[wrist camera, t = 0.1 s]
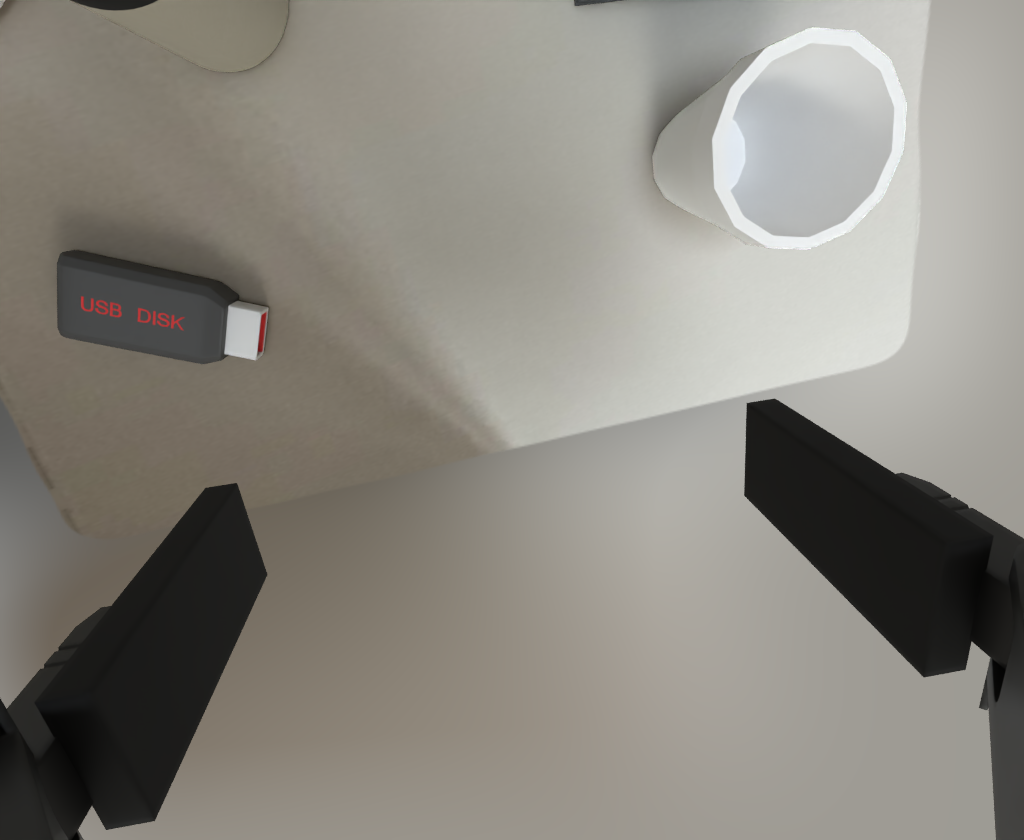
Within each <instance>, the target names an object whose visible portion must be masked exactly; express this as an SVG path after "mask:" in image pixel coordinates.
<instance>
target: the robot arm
mask: <svg viewBox="0 0 1024 840" xmlns="http://www.w3.org/2000/svg"><path fill="white" fill-rule="evenodd" d="M744 495H745V497H747V499H748V500H749V501H750V502H751V503H752V504H753V505H754V506H755V507H756V508H758V510H759V511H760V512H761V513H762V514H763V515H764V516H765V517H766V518H767V519H768V520H769V521H770V522H771V523H772V524H773V525H774V526H775V527H776V528H777V529H778V530H779V531H780V532H781V533H782V534H783V535H784V536H785V537H786V538H787V539H788V540H789V541H790V542H791V543H792V544H793V545H794V546H795V547H796V548H797V549H798V550H799V551H800V552H801V553H802V554H803V555H804V556H805V557H806V558H807V559H808V560H809V561H810V562H811V564H812V565H814V567H815V568H816V569H817V570H818V571H819V572H820V573H821V574H822V575H823V576H825V578H826V579H827V580H828V581H829V582H830V583H831V584H832V585H833V586H834V587H835V588H836V589H837V590H838V591H839V592H840V593H841V594H842V595H843V596H844V597H845V598H846V599H847V600H848V601H849V602H850V603H851V604H852V605H853V606H854V607H855V608H856V609H857V610H858V611H859V612H860V613H861V614H862V615H863V616H864V617H865V618H866V619H867V620H868V621H869V622H870V623H871V624H872V625H873V626H874V627H875V628H876V629H877V630H878V631H879V632H880V633H881V634H882V635H883V636H884V637H885V638H886V639H887V640H888V641H889V642H890V644H892V645H893V646H894V648H896V650H897V651H898V652H899V653H900V654H901V655H902V656H903V657H904V658H905V659H906V660H907V661H908V662H909V663H910V664H912V666H913V667H914V668H915V669H916V670H917V671H918V672H919V673H920V674H921V675H922V676H923V677H928V676H934V675H939V674H945V673H950V672H955V671H960V670H965V669H966V665H967V660H968V655H969V650H970V646H971V641H972V642H973V643H974V644H976V645H977V646H978V647H979V648H980V649H981V650H983V651H984V652H985V653H986V654H987V655H988V656H990V657H991V658H990V662H989V667H988V671H987V676H986V680H985V684H984V689H983V693H982V697H981V702H980V706H979V708H981V709H984V710H987V709H988V707H989V722H990V741H991V758H992V776H993V793H994V811H995V829H996V840H1024V539H1023V538H1022V537H1020V536H1018V535H1017V534H1015V533H1013V532H1012V531H1010V530H1008V529H1007V528H1005V527H1003V526H1002V525H1000V524H998V523H997V522H995V521H993V520H992V519H990V518H988V517H987V516H985V515H983V514H982V513H980V512H978V511H977V510H975V509H973V508H969V507H968V505H967V504H965V503H963V502H962V501H960V500H958V499H957V498H955V497H954V498H951V495H950V494H948V493H947V492H945V491H943V490H942V489H940V488H938V487H937V486H935V485H933V484H932V483H930V482H927V481H925V480H922V479H919V478H916V477H913V476H910V475H907V474H904V473H898V474H894V473H893V472H891V471H890V470H888V469H886V468H885V467H883V466H881V465H880V464H879V463H877V462H875V461H874V460H872V459H871V458H869V457H867V456H866V455H864V454H863V453H861V452H859V451H858V450H856V449H855V448H853V447H851V446H850V445H848V444H846V443H845V442H843V441H842V440H840V439H839V438H837V437H835V436H834V435H832V434H831V433H829V432H827V431H826V430H824V429H823V428H821V427H819V426H818V425H816V424H815V423H813V422H812V421H810V420H808V419H807V418H805V417H804V416H802V415H800V414H799V413H797V412H796V411H794V410H792V409H791V408H789V407H788V406H786V405H784V404H783V403H781V402H780V401H778V400H776V399H770V400H763V401H758V402H751V403H747V418H746V455H745V492H744ZM266 576H267V572H266V569H265V566H264V563H263V560H262V557H261V554H260V551H259V548H258V545H257V542H256V539H255V536H254V533H253V530H252V527H251V524H250V521H249V518H248V515H247V512H246V509H245V506H244V503H243V500H242V497H241V494H240V491H239V488H238V485H237V483H234V484H228V485H221V486H215V487H209V488H205V489H204V491H203V492H202V493H201V494H200V496H199V497H198V498H197V499H196V501H195V502H194V503H193V504H192V506H191V507H190V508H189V509H188V511H187V512H186V513H185V514H184V516H183V517H182V518H181V519H180V521H179V522H178V523H177V524H176V526H175V527H174V528H173V529H172V531H171V532H170V533H169V535H168V536H167V537H166V538H165V539H164V541H163V542H162V543H161V544H160V546H159V547H158V548H157V549H156V551H155V552H154V553H153V554H152V556H151V557H150V558H149V560H148V561H147V562H146V563H145V564H144V566H143V567H142V568H141V569H140V571H139V572H138V573H137V575H136V576H135V577H134V578H133V580H132V581H131V582H130V583H129V584H128V586H127V587H126V588H125V589H124V591H123V592H122V593H121V594H120V596H119V597H118V598H117V600H116V601H115V602H114V603H113V605H112V606H108V607H102V608H100V609H99V610H97V611H96V612H95V613H94V614H92V615H91V616H90V617H88V618H87V619H86V620H84V621H83V622H82V623H80V624H79V625H78V626H76V627H75V628H74V630H73V631H72V632H71V633H70V634H69V636H68V637H67V638H66V639H65V640H64V642H63V643H62V644H61V645H60V646H59V651H56V652H54V654H53V655H52V656H51V657H50V658H49V659H48V661H47V662H46V663H45V664H44V669H40V670H39V671H38V672H37V674H36V675H35V676H34V677H33V678H32V680H31V681H30V682H29V683H28V684H27V686H26V687H25V688H24V689H23V690H22V691H21V693H20V694H19V695H18V696H17V698H16V699H15V700H14V701H13V702H12V703H11V705H10V706H9V707H8V708H7V709H6V707H5V706H4V704H3V702H2V701H1V699H0V840H84V839H83V838H82V836H81V834H80V833H79V831H78V829H79V827H80V825H81V823H82V822H83V820H84V818H85V816H86V815H87V813H88V811H89V809H90V808H91V806H93V808H94V809H95V811H96V813H97V814H98V816H99V818H100V820H101V822H102V823H103V825H104V827H105V829H106V830H108V829H113V828H119V827H125V826H130V825H135V824H141V823H146V822H151V821H155V819H156V817H157V815H158V812H159V810H160V808H161V806H162V804H163V801H164V799H165V797H166V795H167V793H168V791H169V788H170V786H171V784H172V782H173V780H174V778H175V775H176V773H177V771H178V769H179V767H180V764H181V762H182V760H183V758H184V756H185V753H186V751H187V749H188V747H189V745H190V743H191V740H192V738H193V736H194V734H195V732H196V729H197V727H198V725H199V723H200V721H201V719H202V716H203V714H204V712H205V710H206V707H207V705H208V703H209V701H210V699H211V696H212V694H213V692H214V690H215V688H216V686H217V683H218V681H219V679H220V677H221V674H222V673H223V670H224V668H225V666H226V664H227V662H228V660H229V657H230V655H231V653H232V651H233V648H234V646H235V644H236V642H237V640H238V638H239V635H240V633H241V630H242V629H243V627H244V625H245V622H246V620H247V618H248V616H249V614H250V611H251V609H252V607H253V605H254V602H255V600H256V598H257V596H258V594H259V592H260V590H261V587H262V585H263V583H264V581H265V578H266Z"/></svg>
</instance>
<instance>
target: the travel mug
mask: <svg viewBox="0 0 1024 840" xmlns="http://www.w3.org/2000/svg"><path fill="white" fill-rule="evenodd" d="M70 1H72V2H74V3H76V4H78V5H80V6H82V7H84V8H86V9H88V10H90V11H92V12H94V13H96V14H98V15H99V16H101V17H103V18H105V19H107V20H109V21H111V22H113V23H115V24H117V25H119V26H121V27H123V28H125V29H127V30H129V31H131V32H133V33H135V34H137V35H139V36H141V37H143V38H145V39H147V40H149V41H150V42H152V43H154V44H156V45H158V46H160V47H162V48H164V49H166V50H168V51H170V52H172V53H174V54H176V55H178V56H180V57H182V58H184V59H186V60H188V61H190V62H192V63H194V64H196V65H198V66H200V67H203V68H205V69H209V70H212V71H217V72H239V71H243V70H247V69H249V68H252V67H254V66H256V65H258V64H259V63H261V62H262V61H264V60H265V59H266V58H267V57H268V56H269V55H270V54H271V53H272V52H273V51H274V50H275V48H276V47H277V45H278V44H279V42H280V40H281V38H282V36H283V33H284V30H285V27H286V23H287V18H288V7H289V1H288V0H70Z"/></svg>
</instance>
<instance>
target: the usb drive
mask: <svg viewBox="0 0 1024 840" xmlns="http://www.w3.org/2000/svg"><path fill="white" fill-rule="evenodd" d="M238 298H239V296H238V294H236V293H235V292H234V291H232V290H231V289H230V288H228V287H227V286H226V285H224V284H223V283H221V282H219V281H215V280H211V279H206V278H202V277H197V276H192V275H188V274H183V273H179V272H174V271H169V270H165V269H160V268H156V267H151V266H147V265H142V264H137V263H133V262H128V261H124V260H119V259H114V258H110V257H105V256H101V255H96V254H91V253H87V252H82V251H77V250H71V251H66V252H62V253H61V254H60V256H59V259H58V262H57V318H58V330H59V332H60V334H61V335H62V336H63V337H66V338H70V339H75V340H80V341H85V342H90V343H95V344H101V345H106V346H111V347H116V348H121V349H126V350H132V351H137V352H142V353H147V354H152V355H158V356H163V357H168V358H173V359H178V360H184V361H189V362H194V363H200V364H206V363H211V362H216V361H220V360H223V359H224V358H225V357H227V356H228V355H232V356H237V357H242V358H247V359H252V360H258V359H259V358H260V357H261V356H262V355H263V354H264V345H265V336H266V327H267V318H268V308H269V307H265V306H260V305H255V304H250V303H246V302H241V301H238Z"/></svg>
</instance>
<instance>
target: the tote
mask: <svg viewBox="0 0 1024 840" xmlns="http://www.w3.org/2000/svg"><path fill="white" fill-rule="evenodd" d="M574 1H575V6H579V5H587V4H596V3H604V2H613V1H622V0H574Z"/></svg>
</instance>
